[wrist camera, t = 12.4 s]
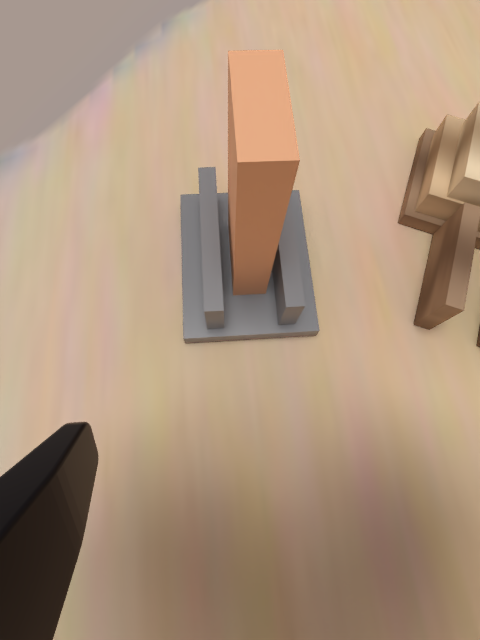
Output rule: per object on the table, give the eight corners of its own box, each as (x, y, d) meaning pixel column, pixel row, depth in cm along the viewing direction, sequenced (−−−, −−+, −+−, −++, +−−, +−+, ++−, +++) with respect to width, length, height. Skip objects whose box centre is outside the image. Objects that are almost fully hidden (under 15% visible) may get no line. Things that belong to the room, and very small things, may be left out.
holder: (315, 335, 22) (333, 313, 18) (185, 343, 22) (176, 322, 18) (296, 199, 25) (308, 157, 22) (182, 204, 25) (174, 161, 21)
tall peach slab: (265, 293, 22) (299, 160, 12) (233, 295, 22) (237, 162, 11) (258, 223, 24) (283, 49, 13) (228, 224, 23) (228, 50, 13)
